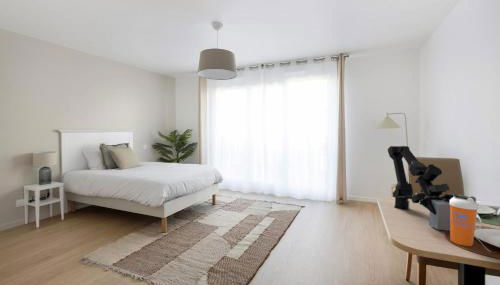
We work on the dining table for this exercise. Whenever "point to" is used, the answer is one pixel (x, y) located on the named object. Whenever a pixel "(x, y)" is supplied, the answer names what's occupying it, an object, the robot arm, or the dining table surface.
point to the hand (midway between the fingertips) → (442, 214)
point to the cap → (440, 215)
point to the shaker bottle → (462, 219)
